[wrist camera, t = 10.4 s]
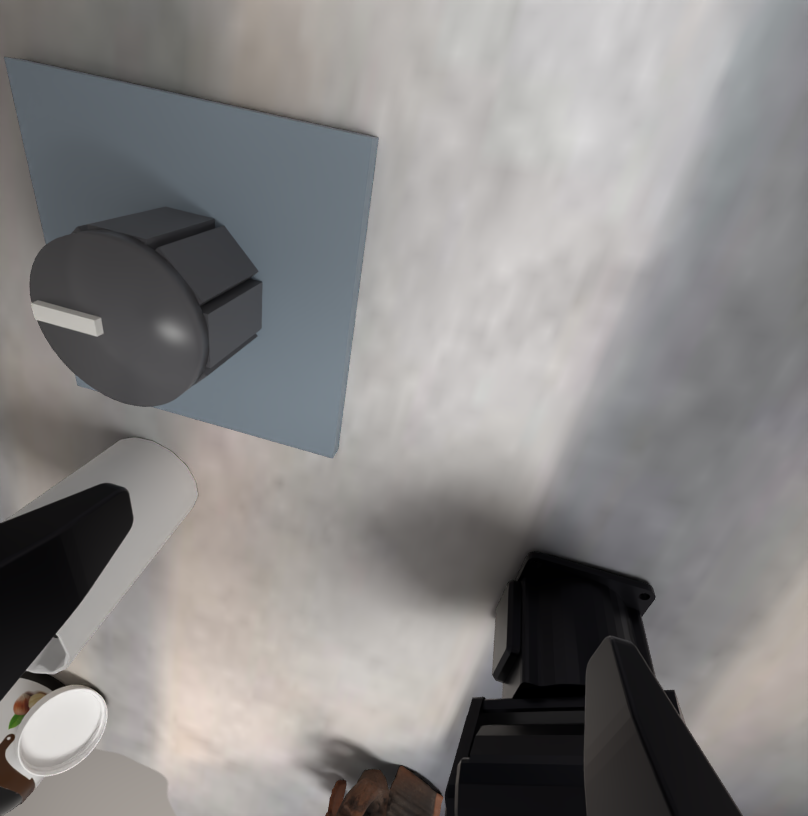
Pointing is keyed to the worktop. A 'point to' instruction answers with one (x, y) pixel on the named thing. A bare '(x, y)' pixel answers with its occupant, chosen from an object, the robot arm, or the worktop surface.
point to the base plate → (231, 207)
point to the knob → (146, 302)
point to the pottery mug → (385, 796)
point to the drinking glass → (152, 526)
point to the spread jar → (44, 732)
